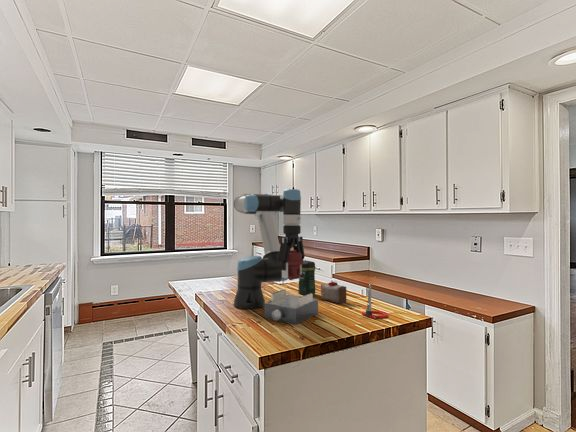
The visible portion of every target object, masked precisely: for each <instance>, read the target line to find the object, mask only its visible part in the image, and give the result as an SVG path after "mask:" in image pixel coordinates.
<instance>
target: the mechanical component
mask: <svg viewBox="0 0 576 432" xmlns="http://www.w3.org/2000/svg"><path fill="white" fill-rule="evenodd" d="M303 261H304V260H302V253H300V252H297V251H296V250H294V249H291V250H290V253H289V256H288V259H287V263H288V280H289V281H294V280H297V279H298V280H299V276H300V265H302V264H303Z"/></svg>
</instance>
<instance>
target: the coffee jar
mask: <svg viewBox="0 0 576 432" xmlns="http://www.w3.org/2000/svg"><path fill="white" fill-rule="evenodd" d="M315 271H316V262H315V261H312V260H311V261H310V260H306V259H305V260H303V264H302V274H301V275H300V276H299V279H298V289H297V290H298V293H299V294H301V295H303V296H305V295H308V294H313V295H315V294H316V280H315V279H316V277H315V275H316V274H315V273H316V272H315Z"/></svg>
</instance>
